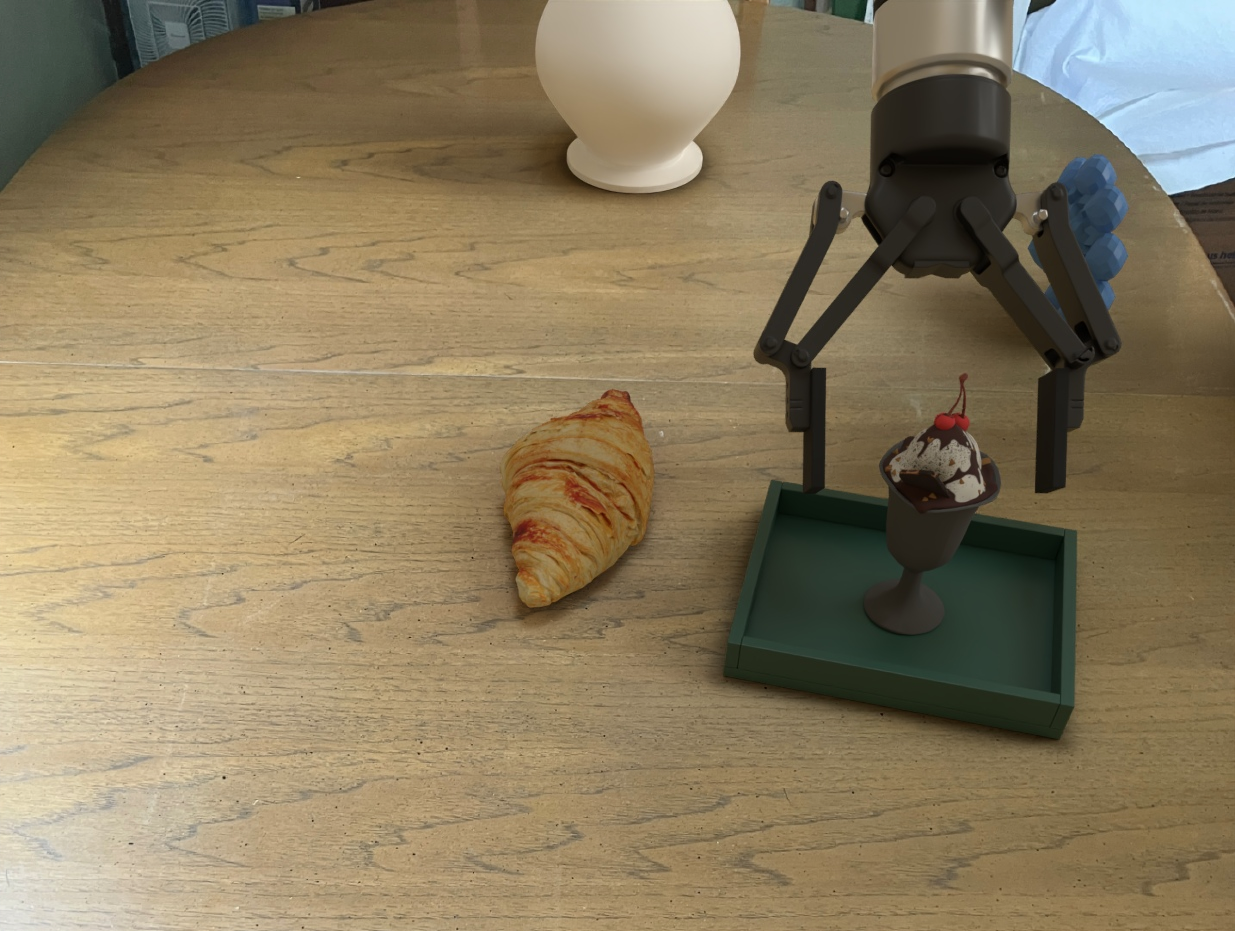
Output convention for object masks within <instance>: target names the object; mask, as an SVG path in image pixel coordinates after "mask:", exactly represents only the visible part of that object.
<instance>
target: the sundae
mask: <svg viewBox="0 0 1235 931" xmlns="http://www.w3.org/2000/svg"><path fill="white" fill-rule="evenodd" d="M968 378H969V375H968V372H967V373H966V372H964V373H962V374H961V375H959V376H958V381H959V385H960V386H959V394H958V397H957V399H956V400H955V403H954V404H953V405H952V407H951V408H950V410H948V412H940V413H938V414H936V415H935V417H934V419H933V424H932V425H930V426H928V427H926V428H924V429H923V430H921V431H919V432H918V433H917V434H916V435H915V436H913V435H909V436H906V437H905V438H904V439H902V440H901V441H899V442H897V443H895V444H894V445H892V446H891V447H890V448H889V449H887V451H886V452H885V453H884V455H883V456H882V457H881V459H880V461H879V465H878V469H879V473H880V475H881V477H882V478H883V481H884V483H886V485H887V486H888V499H889V500H888V511H887V522H886V538H887V547H888V550H889V552H890V553H891V555H892V556H893V557H894V558H895V560H896V561H897V562H898V563H899V564H900V565H901V566H903V567H904V569H903V573H902V577H901V579H891V580H886V581H882V582H879V583H877V584H875V585H874V586H872V587H871V588H870V589H869V590H868V591H867V593H866V595H865V597H864V609H865V611H866V613H867V614H868V616H869V617H870V618H871V620H872V621H873V622H875V623H876V624H877V625H879V626H880V627H882V628H883V629H886V630H888V631H891V632H894V633H897V634H904V635H916V634H922V633H925V632H929V631H931V630H932V629H934V628H936V627H937V626H938V625H939V624H940V623H941V621H942V620H943V617H944V606H943V603H942V601H941V600H940V598H939V597H938V596H937V594H936V593H935V592H934V591H933V590H931V589H930V588H929V587H927V586H925V585H924V584H921V580H922V576H923V573H924V572H925V571H930V570H933V569H936V568H938V567H941V566H943V565H945V564H946V563H948V562H949V561H950V560H951V558H952V557H953V555H954V553H955V552H956V550H957V548H958V547H959V545H960V543H961V541H962V539H963V537H964V535H965V532H966V530H967V528H968V526H969V524H970V522H971V519H972V517H973V516H974V514H975V513H976V514H977V511H978V509H979V508H980V507H982V506H985V505H988V504H990V503H993V502H994V501H995V500H996V499H997V498H998V496H999V494H1000V491H1001V486H1002V478H1001V472H1000V469H999V467H998V466H997V463H996V462H995V461H994V460H993V459H992V458H991V457H990V456H989V455H988V454H987V453H984V452H983V451H981V450H980V446H979V445H978V443H977V441H976V440H975V438H974V436H972V435H971V434H970V433H969V432H968V429H969V428H970V424H971V423H970V422H971V421H970V419H969V417H968V416H967V415H966V409H967V393H966V386H965V381H967V380H968ZM961 399H962V406H961V407H962V409H961V412H954V410H955V409H956V407H957V406H958V404H959V403H960V400H961Z"/></svg>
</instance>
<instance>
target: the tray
mask: <svg viewBox="0 0 1235 931" xmlns="http://www.w3.org/2000/svg"><path fill="white" fill-rule="evenodd" d="M888 500H889V498H885V497H879V496H874V495H873V496H872V495H867V494H861V493H856V492H855V493H854V492H850V491H844V490H843V491H842V490H837V489H831V488H826V487H825V488H824V489H822V490H821V491H819V492H818V493H816V494H803V483H802V484H800V483H797V482H796V483H795V482H790V481H782V480H776V479H770V481H769V485H768V489H767V493H766V495H765V500H764V503H763V507H762V511H761V516H760V519H759V522H758V526H757V530H756V533H755V537H754V541H753V544H752V548H751V552H750V556H749V559H748V563H747V566H746V570H745V574H744V577H743V583H742V585H741V589H740V593H739V596H738V601H737V604H736V608H735V611H734V615H733V619H732V623H731V626H730V630H729V633H728V638H727V641H726V647H725V648H726V649H725V655H724V657H725V658H724V664H723V671H722V672H723V673H722V676H724V677H728V678H734V679H738V680H745V681H750V682H755V683H760V684H765V685H771V686H776V687H781V688H786V689H790V690H791V689H792V690H797V691H801V692H802V691H803V692H808V693H813V694H818V695H822V696H828V697H834V698H839V699H844V700H849V701H855V702H861V703H865V704H870V705H877V706H881V707H887V708H892V709H898V710H903V711H908V712H912V713H913V712H914V713H918V714H924V715H929V716H934V717H940V718H945V719H950V720H955V721H960V722H966V723H971V724H977V725H982V726H987V727H991V728H992V727H993V728H997V729H1003V730H1008V731H1014V732H1017V733H1018V732H1019V733H1024V734H1030V735H1033V736H1040V737H1045V738H1051V739H1056V740H1061V737H1062V735H1063V733H1064V731H1065V729H1066V727H1067V724H1068V722H1069V720H1070V718H1071V716H1072V713H1073V711H1074V709H1075V707H1076V706H1075V705H1076V704H1075V703H1076V701H1075V700H1076V644H1077V643H1076V641H1077V639H1076V638H1077V637H1076V636H1077V634H1076V633H1077V577H1078V576H1077V573H1078V572H1077V571H1078V570H1077V569H1078V567H1077V566H1078V530H1076V529H1072V528H1064V527H1059V526H1055V525H1054V526H1053V525H1047V524H1041V523H1035V522H1029V521H1023V520H1017V519H1011V518H1006V517H999V516H993V515H989V514H988V515H986V514H982V513H981V514H980V513H977V512H976V513H975V514H974V516H973V517H972V519H971V522H970V524H969V526H968V528H967V530H966V532H965V535H964V537H963V539H962V541H961V543H960V545H959V547H958V548H957V550H956V552H955V553H954V555H953V557H952V558H951V560H950V561H949V562H948V563H946V564H945V565H943V566H941V567H938V568H936V569H933V570H930V571H925V572H924V573H923V576H922V580H921V584H924V585H925V586H927V587H929V588H930V589H931V590H933V591H934V592H935V593H936V594H937V596H938V597H939V598H940V600H941V601H942V603H943V606H944V617H943V620H942V621H941V623H940V624H939V625H938V626H937V627H936V628H934V629H932V630H931V631H929V632H925V633H922V634H916V635H904V634H897V633H894V632H891V631H888V630H886V629H883V628H882V627H880V626H879V625H877V624H876V623H875V622H873V621H872V620H871V618H870V617H869V616H868V614H867V613H866V611H865V609H864V597H865V595H866V593H867V591H868V590H869V589H870V588H871V587H872V586H874V585H875V584H877V583H879V582H882V581H886V580H891V579H901V577H902V573H903V569H904V567H903V566H901V565H900V564H899V563H898V562H897V561H896V560H895V558H894V557H893V556H892V555H891V553H890V552H889V550H888V547H887V538H886V522H887V511H888Z"/></svg>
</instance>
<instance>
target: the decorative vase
mask: <svg viewBox="0 0 1235 931" xmlns="http://www.w3.org/2000/svg"><path fill="white" fill-rule="evenodd" d="M535 36H536V38H535V46H534V47H535V51H534V58H535V67H536V72H537V76H538V79H539V83H540V85H541V87H542V89H543V91H544V93H545V95H546V96H547V99H549V101H550V103H551V104H552V105H553V107H554V108H555V110H556V111H557V113H558V114H559V115H560V116H561V118H562V119H563V120H564V122H565V123H566V124H567V125H568V127H569V128H570V129H571V130H572V132H573V133H574V134H575V136H576V138H575V139H574V140H573V141H572V142H571V143H570V144H569V145H568V148H567V150H566V163H567V167H568V169H569V170H570V172H571V173H572V174H573V175H574V176H575V177H577V179H579V180H581V181H583V182H584V183H586V184H588V185H591V186H593V187H596V188H599V189H602V190H607V191H611V192H617V193H624V194H652V193H661V192H665V191H669V190H672V189H673V190H674V189H677V188H679V187H681V186H684V185H685V184H688V183H689V182H691V181H692V180H694V179H695V178H696V177H697V176H699V173H700V172H701V171H702V167H703V158H704V156H703V153H702V152H703V151H702V150H701V148H700V147H699V145H698V144H697V143H696V142H695V141H694V140H695V139H696V137H698V135H699V134H700V133H701V132H702V131H703V130H704V129H705V127H707V126H708V124H709V123H710V122H711V121H712V120H713V119H714V117H715V116H716V115H717V114H718V112H719V111H721V109H722V107H724V105H725V103H726V102H727V100H728V99H729V97H730V95H731V94H732V92H733V90H734V88H735V85H736V84H737V83H736V82H737V80H738V76H739V71H740V66H741V37H740V32H739V27H738V23H737V20H736V17H735V15H734V12H733V10H732V7H731V5H730V2H729V1H728V0H548V1H547V2H546V4H545V7H544V9H543V11H542V13H541V17H540V19H539V22H538V26H537V30H536V35H535Z"/></svg>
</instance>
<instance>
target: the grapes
mask: <svg viewBox="0 0 1235 931" xmlns="http://www.w3.org/2000/svg"><path fill="white" fill-rule="evenodd" d="M1117 179H1118V177H1117V173H1116V170H1115V168H1114V166H1113V164H1112V162H1111V161H1110V160H1109V159H1108V158H1107V157H1106V156H1105V155H1104V154H1099V153H1094V154H1092V155H1091V156H1090V157H1089V156H1088V158H1086V157H1084V156H1083V157H1081V156H1076V157H1075V158H1073V159H1072V160H1070V161H1069V162H1068V163H1067V165H1066V166H1065V167H1064V169H1063V170H1062V171H1061V173H1060V175H1059V177H1058V178H1057V181H1056V182H1059V183H1062V184H1063V185H1064V186H1065V187H1066V189H1067V192H1068V205H1069V219H1070V225H1071V228H1072V230H1073V232H1074V234H1075V237H1076V239H1077V241H1078V243H1079V246H1080V248H1081V250H1082V253H1083V255H1084V257H1085V259H1086V262H1087V264H1088V266H1089V269H1090V271H1091V273H1092V275H1093V278H1094V280H1095V282H1096V284H1097V287H1098V289H1099V291H1100V294H1101V296H1102V298H1103V300H1104V303H1105V305H1106V307H1107V310H1108V311H1109V310H1110V309H1111V307H1112V305H1113V303H1114V301H1115V299H1116V294H1115V292H1114V289H1113V287H1112V285H1111V283H1110V282H1109V281H1110V280H1112V279H1114V278H1116V277H1117V275H1118V274H1119V272H1120V271H1121V270H1122V269H1123V267H1124V266H1125V263H1126V262H1127V259H1128V258H1129V254H1128V250H1127V249H1126V246H1125V244H1124V242H1123V241H1122V239H1120V237H1118V236H1117V235H1116V233H1112V232H1113V231H1115V230H1116V229H1117V228H1118V227H1119V225H1121V223H1122V222H1123V220H1124V218H1125V216H1126V214H1127V213H1128V211H1129V209H1130V206H1129V203H1128V202H1127V201H1128V200H1127V199H1126V196H1125V195H1124V193H1123V192H1122V190H1120V188H1118V186H1116V185H1115V184H1116V181H1117ZM1027 251H1028V253H1029V255H1030V257H1031V259H1032V260H1033V263H1034V264H1035V265H1037V267H1039V269H1041V270H1042V271H1043V273H1044V274H1045V271H1044V269H1043V267H1042V265H1041V262H1040V260H1039V258H1038V256H1037V253H1036V250H1035V247H1034V243H1033V238H1032V239H1031V241H1030V243H1029V245H1028V247H1027ZM1044 294H1045V295H1046V296H1047V298H1048V299H1049V300H1050V302H1051V303H1052V304H1053V306H1054V307H1055V308H1056V309H1057V311H1058V312H1059V313H1060V315H1061V316H1062V317H1063V318H1064V320H1065V321H1066V319H1065V317H1064V314H1063V312H1062V310H1061V307H1060V305H1059V303H1058V301H1057V298H1056V296H1055V294H1054V292H1053V289H1052V287H1051V285H1050V284H1049V285H1048V287H1047V288H1046V290H1045V292H1044ZM1066 322H1067V321H1066ZM1067 324H1068V323H1067Z"/></svg>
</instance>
